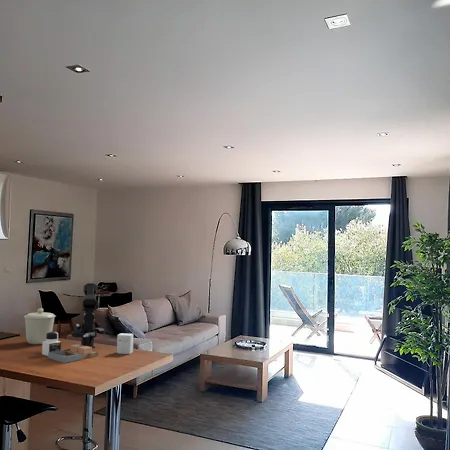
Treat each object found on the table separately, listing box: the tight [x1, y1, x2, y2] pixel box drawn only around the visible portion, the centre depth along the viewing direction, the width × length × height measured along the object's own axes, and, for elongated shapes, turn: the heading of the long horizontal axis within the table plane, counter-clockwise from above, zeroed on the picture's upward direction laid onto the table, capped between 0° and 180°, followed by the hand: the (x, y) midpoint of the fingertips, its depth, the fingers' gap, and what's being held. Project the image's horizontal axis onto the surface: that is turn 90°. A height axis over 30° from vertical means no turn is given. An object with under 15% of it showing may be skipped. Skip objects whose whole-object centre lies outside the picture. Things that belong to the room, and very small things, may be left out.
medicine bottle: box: [41, 331, 62, 357], centre depth 240 cm, size 7×7×12 cm
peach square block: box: [79, 346, 93, 354], centre depth 237 cm, size 5×5×3 cm
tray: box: [47, 349, 82, 364], centre depth 231 cm, size 10×15×3 cm, turn 55°
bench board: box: [65, 350, 99, 360], centre depth 240 cm, size 11×14×2 cm
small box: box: [116, 332, 134, 355], centre depth 250 cm, size 8×6×10 cm
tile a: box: [69, 343, 84, 352], centre depth 242 cm, size 5×5×3 cm
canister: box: [23, 307, 57, 345], centre depth 269 cm, size 18×18×21 cm
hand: (87, 347), depth 247 cm, fingers closed
